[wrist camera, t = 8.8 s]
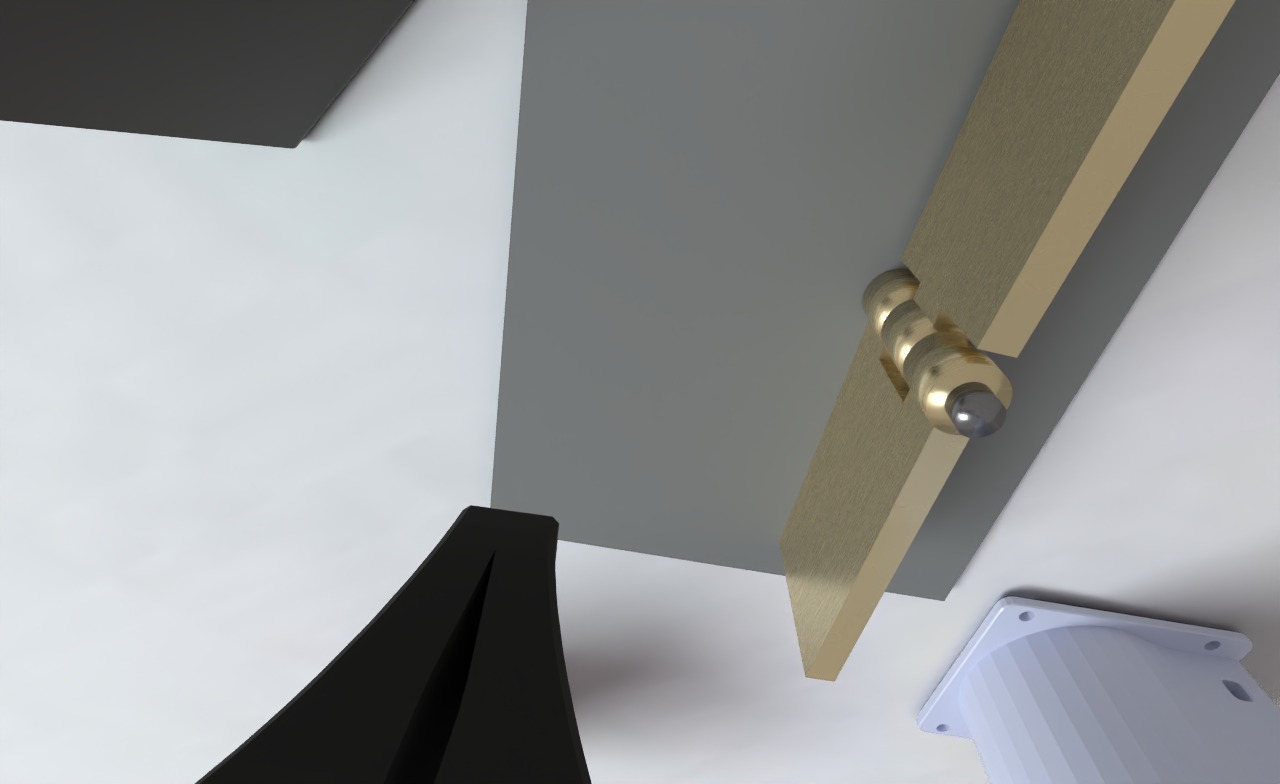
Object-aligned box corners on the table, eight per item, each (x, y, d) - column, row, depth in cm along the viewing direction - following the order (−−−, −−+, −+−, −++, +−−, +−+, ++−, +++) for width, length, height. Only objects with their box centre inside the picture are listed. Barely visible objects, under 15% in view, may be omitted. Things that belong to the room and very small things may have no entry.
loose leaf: (912, 336, 17) (986, 442, 13) (855, 323, 17) (911, 426, 13) (1145, -125, 12) (1382, -183, 8) (1064, -149, 12) (1264, -219, 8)
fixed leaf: (875, 263, 16) (958, 375, 12) (936, 275, 16) (1042, 390, 12) (767, 540, 22) (794, 695, 17) (814, 547, 22) (854, 704, 17)
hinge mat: (1408, -166, 12) (1434, -172, 12) (939, 590, 23) (944, 601, 23) (560, -370, 11) (555, -385, 11) (492, 518, 22) (488, 528, 22)
